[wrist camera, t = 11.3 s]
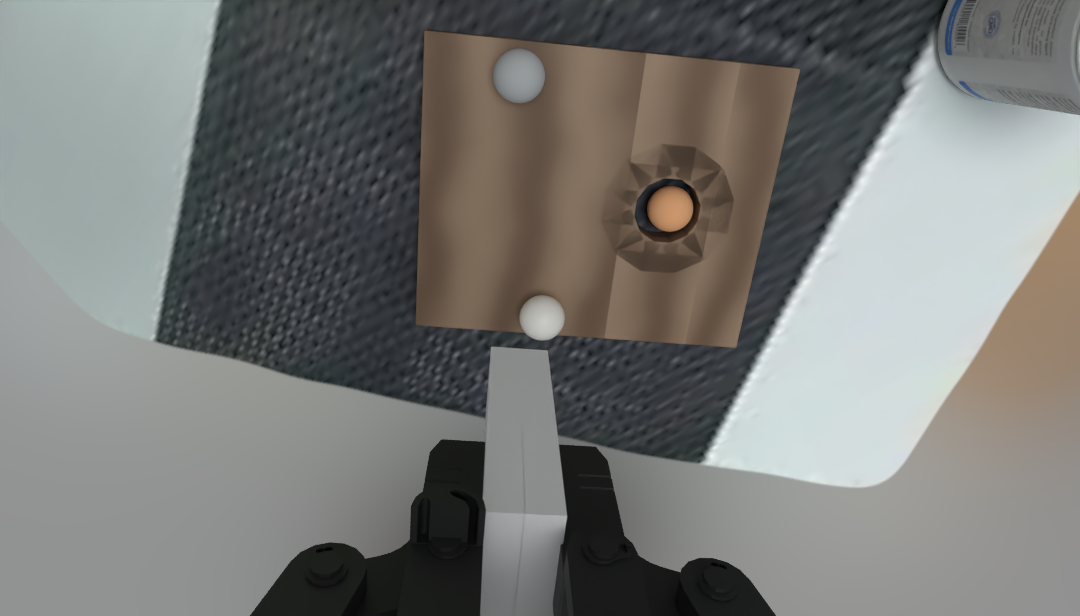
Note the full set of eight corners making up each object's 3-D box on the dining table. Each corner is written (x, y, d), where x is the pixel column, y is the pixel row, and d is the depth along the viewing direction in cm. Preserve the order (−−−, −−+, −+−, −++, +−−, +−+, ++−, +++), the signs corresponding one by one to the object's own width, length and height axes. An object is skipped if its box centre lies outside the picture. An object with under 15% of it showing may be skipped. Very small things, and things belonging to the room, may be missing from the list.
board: (419, 311, 52) (415, 325, 50) (428, 29, 45) (424, 30, 42) (726, 333, 54) (735, 347, 52) (785, 66, 47) (800, 69, 44)
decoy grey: (491, 97, 44) (490, 103, 41) (495, 44, 43) (494, 46, 40) (541, 102, 44) (543, 108, 42) (546, 49, 43) (549, 52, 40)
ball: (700, 227, 47) (691, 228, 50) (694, 180, 47) (685, 184, 50) (653, 234, 47) (647, 235, 50) (646, 187, 47) (641, 191, 50)
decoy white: (517, 327, 51) (518, 346, 48) (521, 286, 49) (521, 303, 46) (560, 330, 51) (563, 349, 48) (565, 290, 50) (569, 307, 47)
